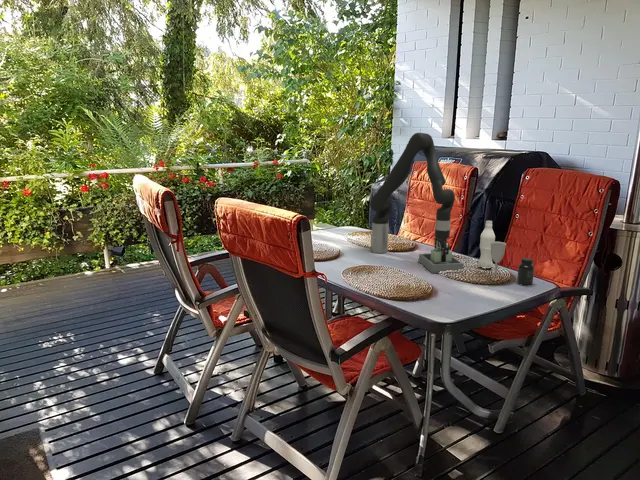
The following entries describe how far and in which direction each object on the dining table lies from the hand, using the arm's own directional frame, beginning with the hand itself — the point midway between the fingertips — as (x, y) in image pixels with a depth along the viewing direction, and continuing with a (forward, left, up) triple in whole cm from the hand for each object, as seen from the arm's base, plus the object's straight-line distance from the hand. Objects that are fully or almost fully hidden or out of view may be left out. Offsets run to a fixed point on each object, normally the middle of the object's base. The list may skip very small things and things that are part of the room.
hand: (440, 259), depth 254 cm
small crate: (0, 0, -1) cm, 1 cm away
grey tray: (0, 0, -4) cm, 4 cm away
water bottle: (+22, -6, -4) cm, 23 cm away
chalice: (+18, -23, -4) cm, 30 cm away
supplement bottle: (+29, -31, -4) cm, 43 cm away
